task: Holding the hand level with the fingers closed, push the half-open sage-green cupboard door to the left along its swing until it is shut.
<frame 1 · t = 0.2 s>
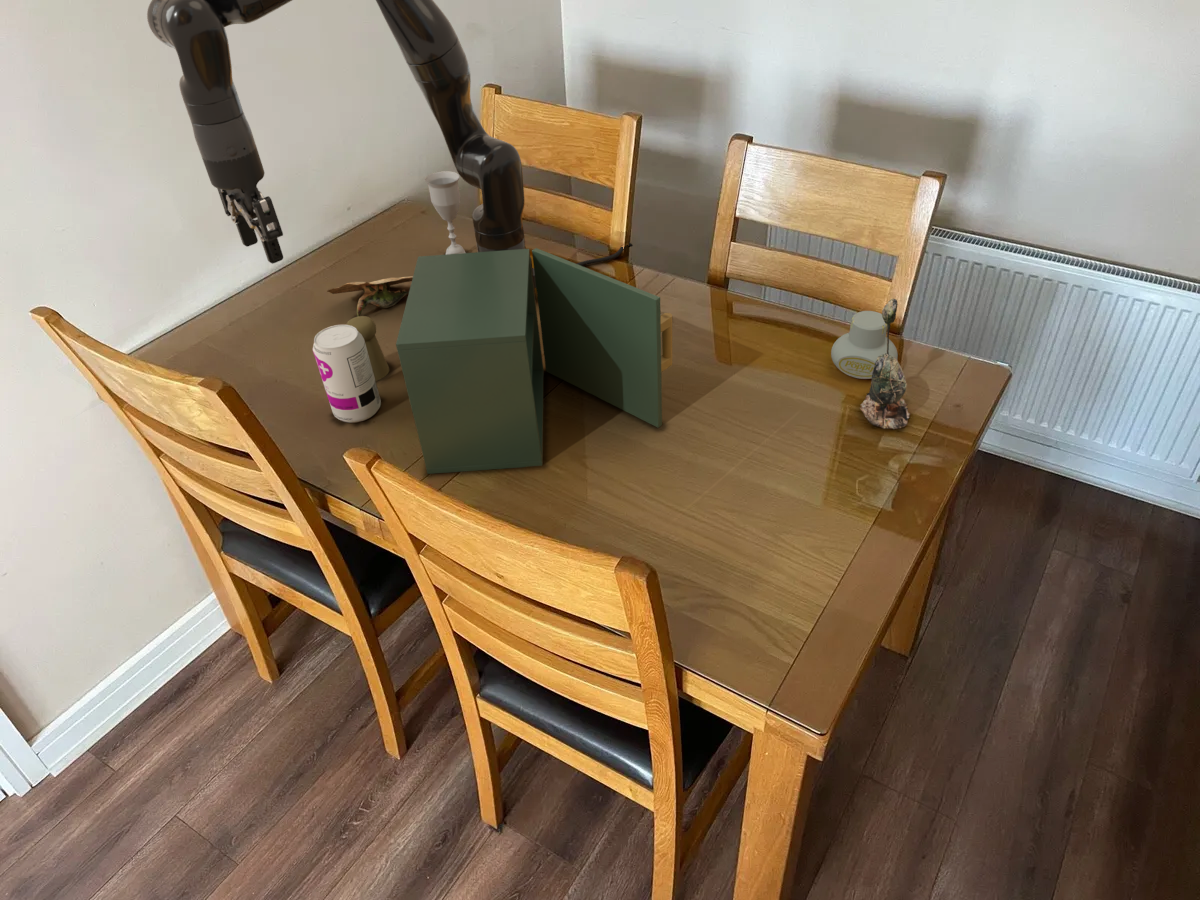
hand: (263, 252, 134), 29 cm above the table, tool pointing down, fingers open, 8 cm apart
cupboard: (489, 419, 146), on the table
air freshener: (861, 369, 151), on the table
door: (608, 331, 142), point 12 cm above the table, hinge at 45.0°
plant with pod: (882, 417, 141), on the table
supplement can: (358, 411, 150), on the table
pawn: (373, 373, 159), on the table
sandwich: (376, 304, 178), on the table
chalice: (456, 257, 192), on the table
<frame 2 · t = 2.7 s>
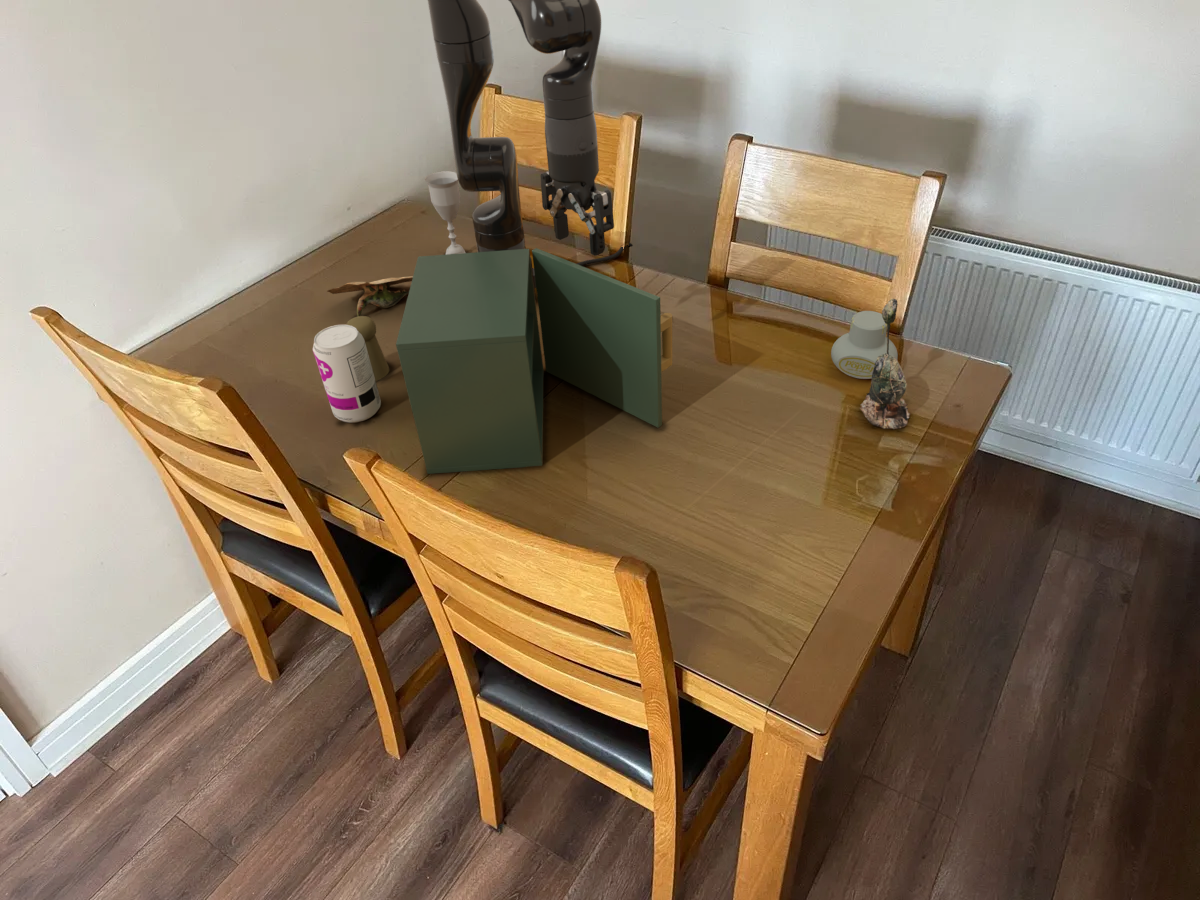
hand: (579, 245, 138), 25 cm above the table, tool pointing down, fingers open, 8 cm apart
nothing on the table moved.
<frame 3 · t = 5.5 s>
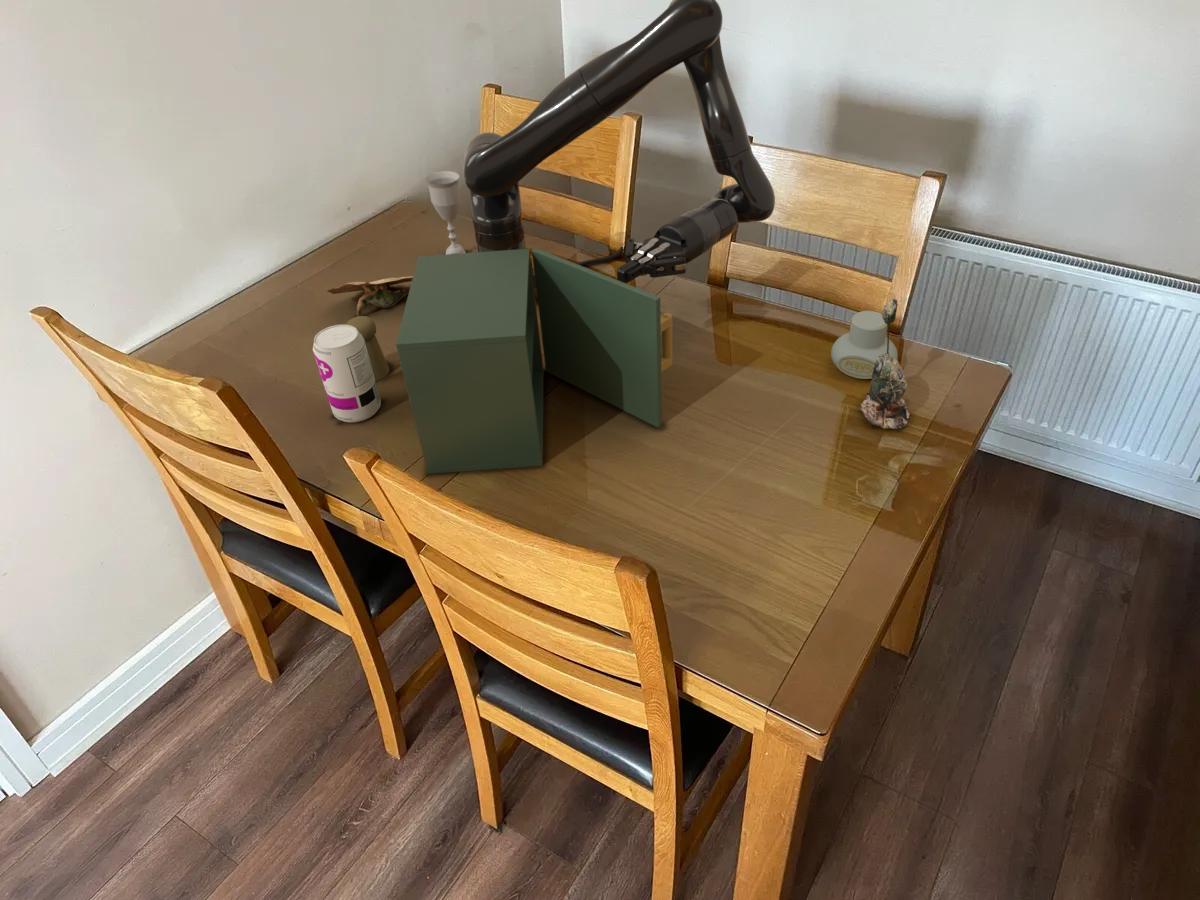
hand: (620, 276, 140), 20 cm above the table, tool horizontal, fingers closed
nothing on the table moved.
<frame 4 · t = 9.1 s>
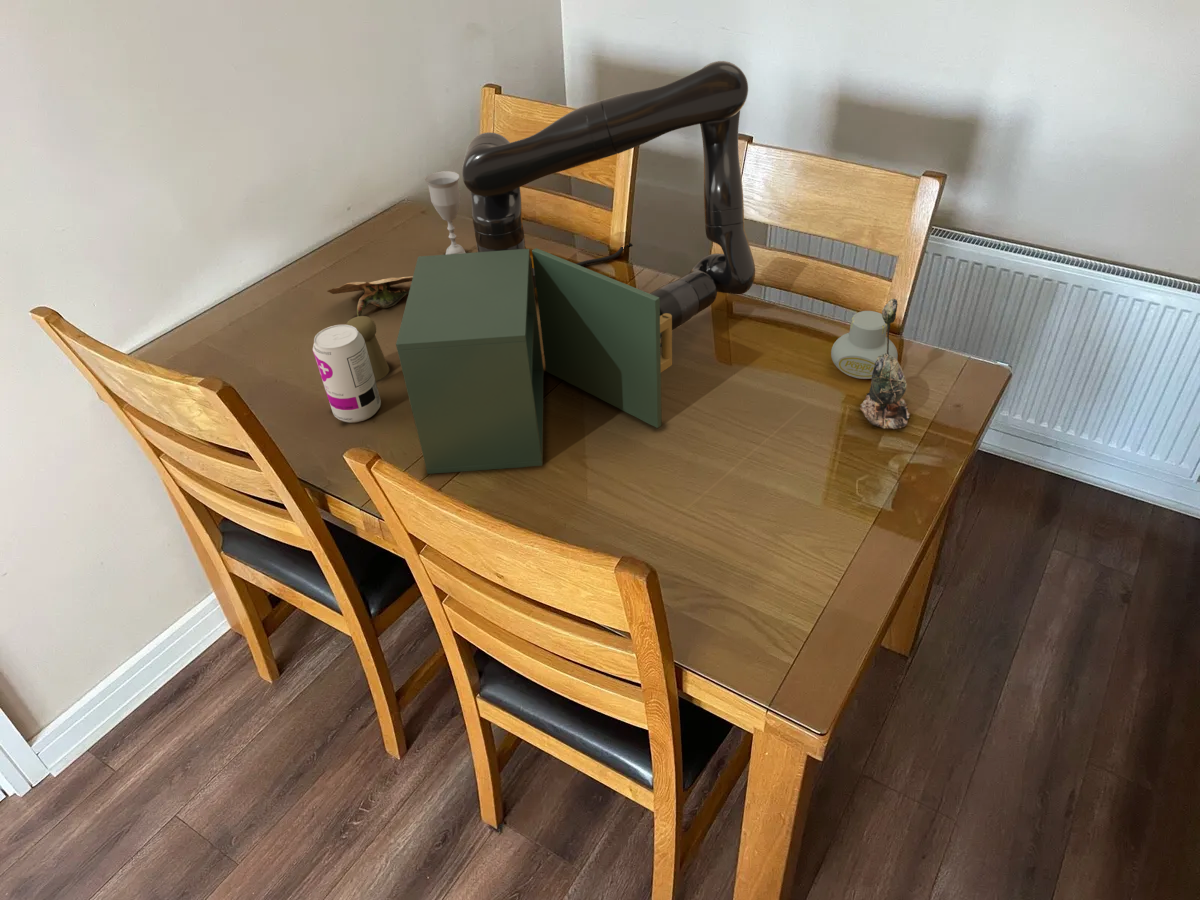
hand: (597, 349, 143), 9 cm above the table, tool horizontal, fingers closed
door: (608, 331, 142), point 12 cm above the table, hinge at 44.6°, touching gripper
everything else where it was.
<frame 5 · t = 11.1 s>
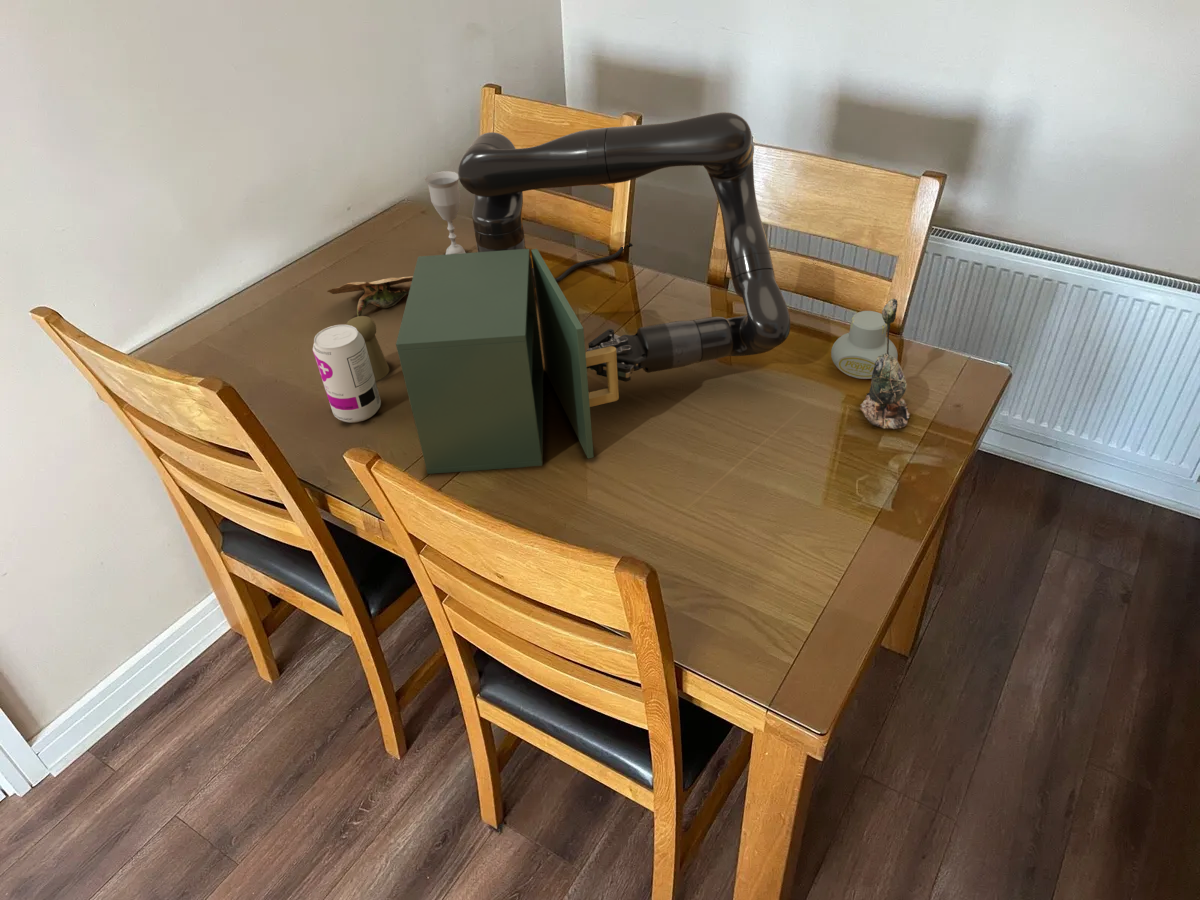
hand: (565, 363, 141), 9 cm above the table, tool horizontal, fingers closed
door: (577, 348, 139), point 12 cm above the table, hinge at 15.3°, touching gripper
everything else where it was.
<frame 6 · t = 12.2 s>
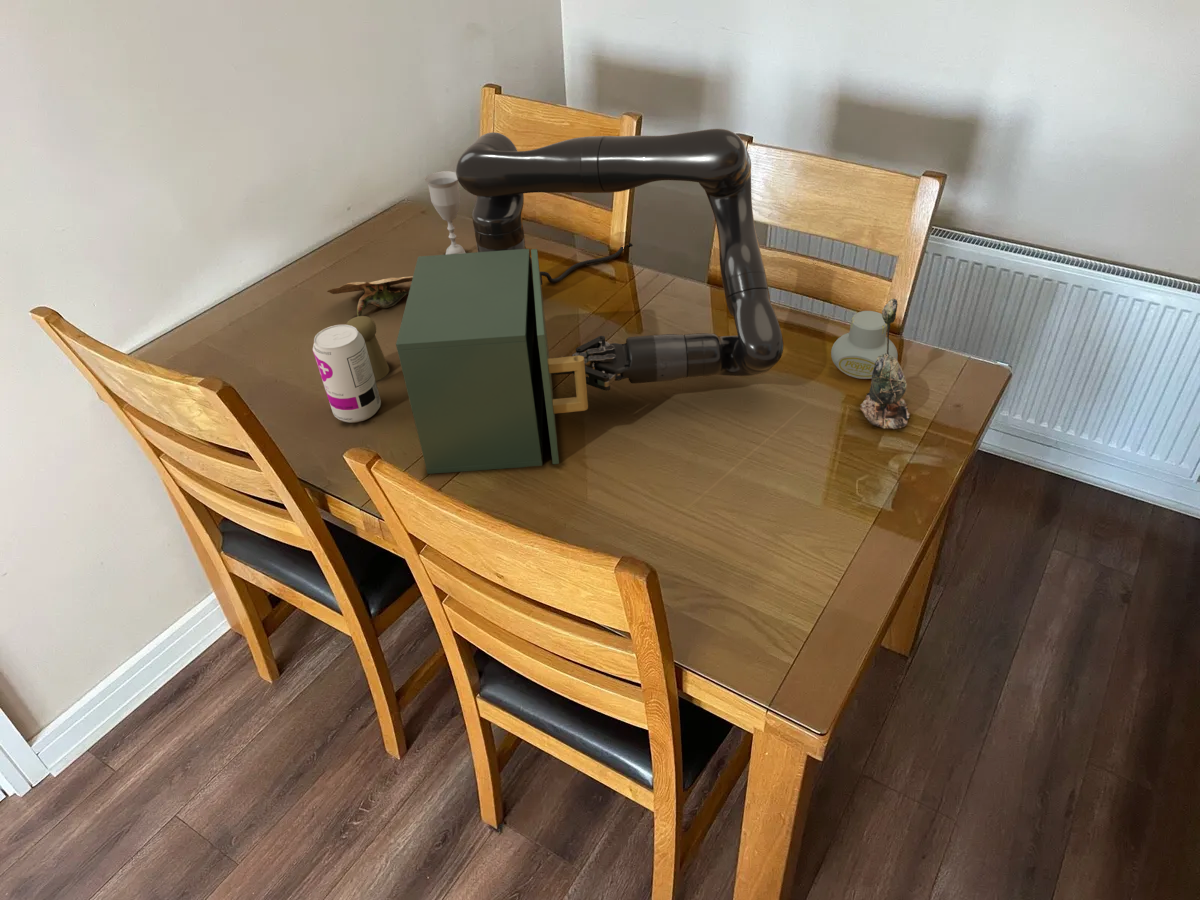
hand: (549, 366, 140), 9 cm above the table, tool horizontal, fingers closed
door: (561, 353, 138), point 12 cm above the table, hinge at 3.0°, touching gripper
everything else where it was.
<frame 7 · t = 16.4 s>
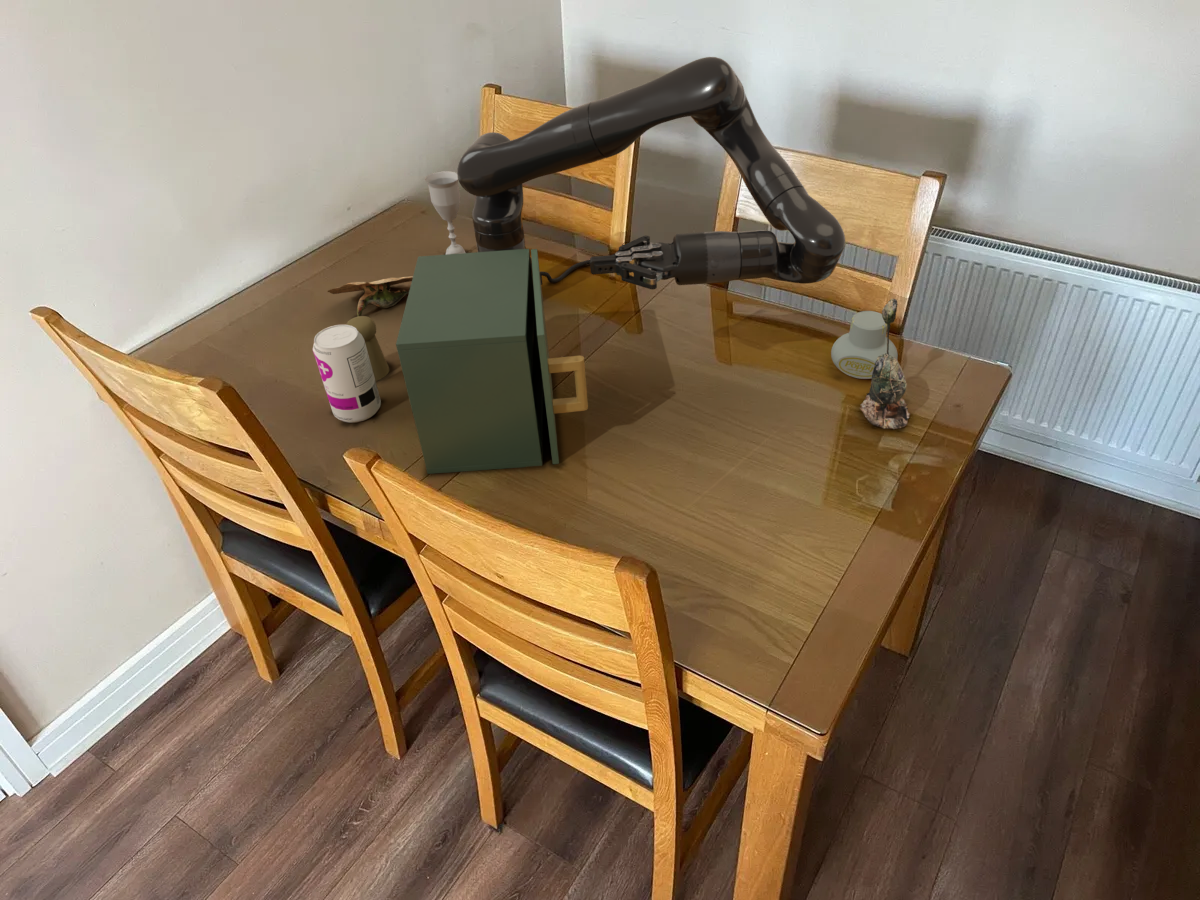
hand: (590, 265, 130), 27 cm above the table, tool horizontal, fingers closed
door: (561, 353, 138), point 12 cm above the table, hinge at 3.0°
everything else where it was.
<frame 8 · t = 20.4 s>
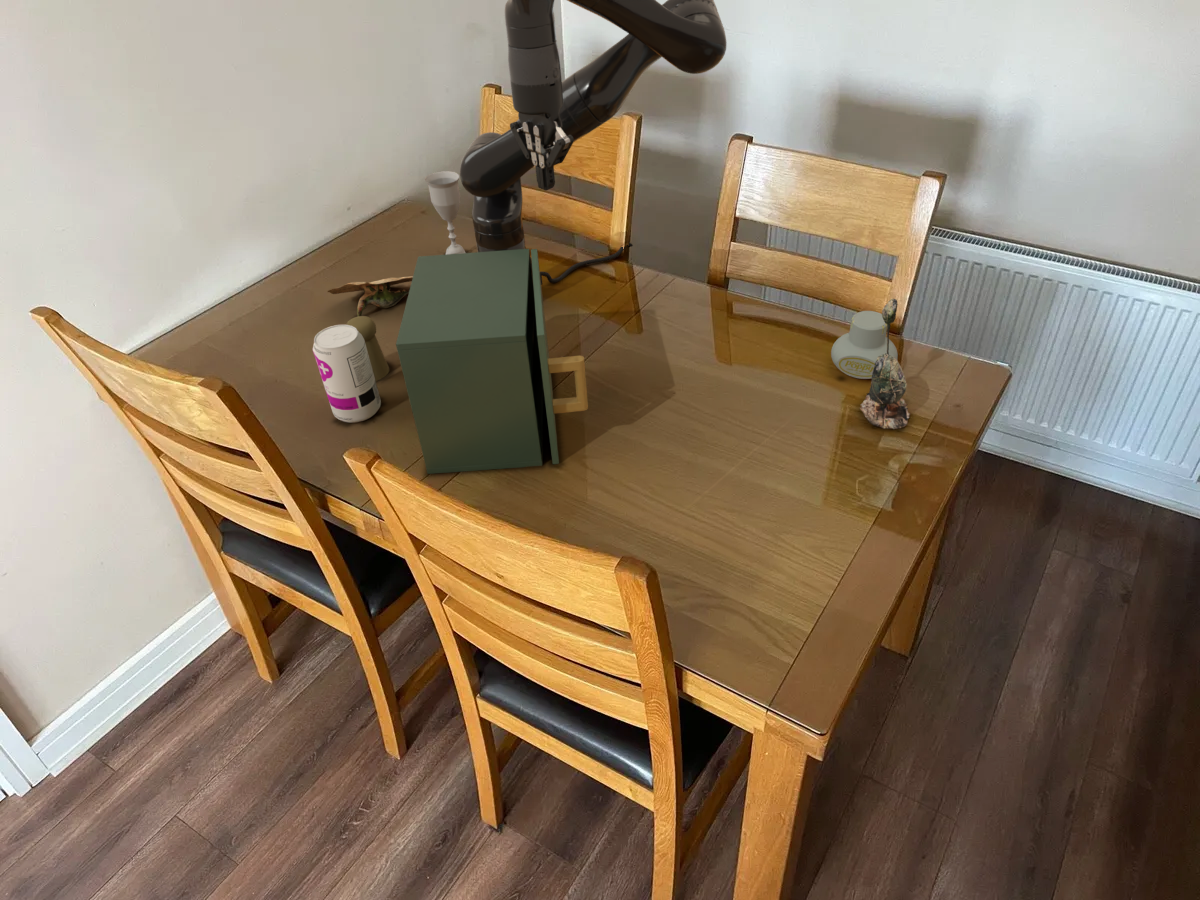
hand: (546, 187, 139), 32 cm above the table, tool pointing down, fingers closed
nothing on the table moved.
at the end: door at +3° (first picture: +45°) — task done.
